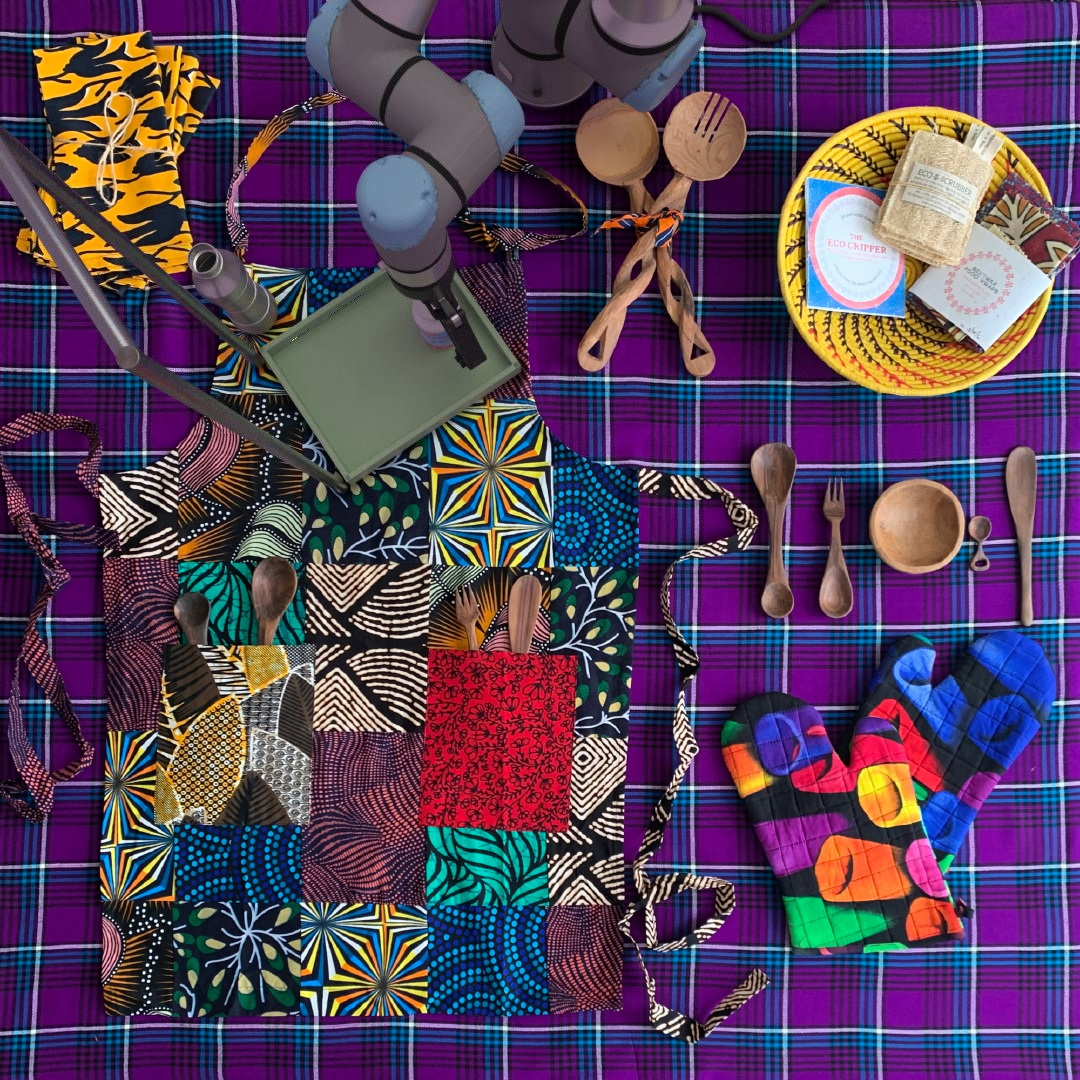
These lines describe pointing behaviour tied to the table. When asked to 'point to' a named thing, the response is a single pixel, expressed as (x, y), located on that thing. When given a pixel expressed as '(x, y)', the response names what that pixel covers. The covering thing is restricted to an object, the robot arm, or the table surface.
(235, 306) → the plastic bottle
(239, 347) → the platform cart
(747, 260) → the table surface
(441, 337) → the pill bottle
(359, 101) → the robot arm
